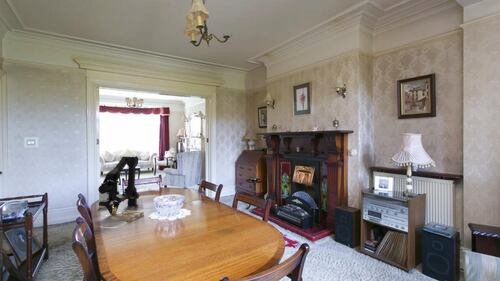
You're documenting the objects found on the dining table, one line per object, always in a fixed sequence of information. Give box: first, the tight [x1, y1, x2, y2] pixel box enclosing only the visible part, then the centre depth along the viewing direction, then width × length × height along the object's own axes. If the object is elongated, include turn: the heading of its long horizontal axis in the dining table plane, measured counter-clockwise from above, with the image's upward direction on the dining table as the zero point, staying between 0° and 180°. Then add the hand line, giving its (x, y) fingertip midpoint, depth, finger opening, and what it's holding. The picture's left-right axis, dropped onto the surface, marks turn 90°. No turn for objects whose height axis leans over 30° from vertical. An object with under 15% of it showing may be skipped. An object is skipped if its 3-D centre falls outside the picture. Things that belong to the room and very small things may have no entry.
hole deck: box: [110, 210, 145, 223], centre depth 166 cm, size 14×14×3 cm
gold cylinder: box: [109, 205, 118, 215], centre depth 171 cm, size 4×4×5 cm
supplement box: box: [98, 191, 113, 209], centre depth 194 cm, size 7×7×13 cm
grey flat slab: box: [104, 211, 122, 217], centre depth 171 cm, size 9×7×1 cm
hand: (113, 212), depth 171 cm, fingers closed on gold cylinder, 4 cm apart
